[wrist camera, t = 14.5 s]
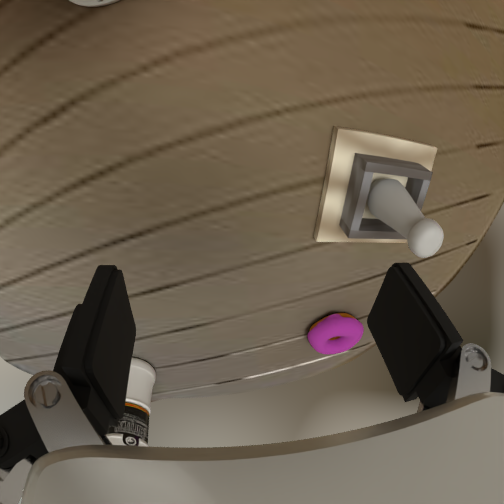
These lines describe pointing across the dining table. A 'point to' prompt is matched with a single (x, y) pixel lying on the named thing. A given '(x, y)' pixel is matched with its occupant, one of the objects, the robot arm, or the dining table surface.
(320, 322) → the donut
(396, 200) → the salt shaker
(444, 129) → the dining table surface
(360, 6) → the dining table surface
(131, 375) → the vodka
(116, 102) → the dining table surface
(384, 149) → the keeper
